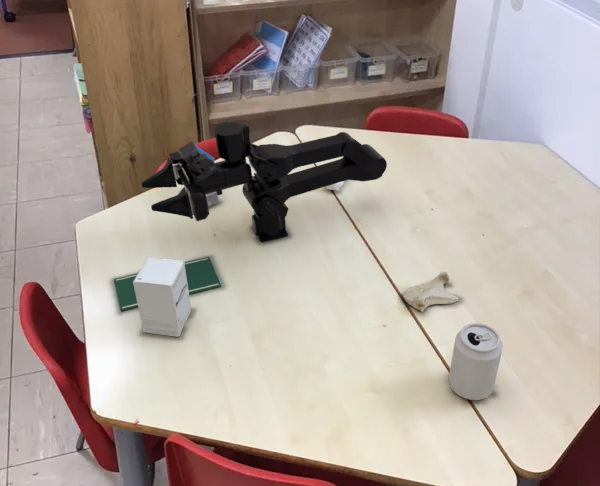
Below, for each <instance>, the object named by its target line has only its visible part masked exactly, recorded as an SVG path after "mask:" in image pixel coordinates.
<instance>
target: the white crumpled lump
mask: <svg viewBox="0 0 600 486" xmlns="http://www.w3.org/2000/svg"><path fill="white" fill-rule="evenodd" d="M345 182H346V181H342V182H339V183H336V184H332V185H329V186H326V187H324V188H326V189H327V190H331V191H334V192H340V189H341V187H342V186H343V185H344V183H345Z"/></svg>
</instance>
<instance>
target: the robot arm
mask: <svg viewBox="0 0 600 486" xmlns="http://www.w3.org/2000/svg"><path fill="white" fill-rule="evenodd" d="M213 131H214V137H215V143H216V149H217V155H218V157H219V158H220V159H222V160H220V161H216V162H215V163H214V162H213V161H212V160H211V159H208V157H207V155H206V154H200V152H199V151H198V149H197V148H196V146H197V145H196V144H195V143H194V142H193V140H190V141H189V142H188V143H186V144H184V145H182V146H181V147H180V148H178V151H174V152H171V153H169V155H168V156H169V157H167V159H166V163H165V165H164V166H163V167H162V168H161V169H160V170H158V171H156V172H155V173H154V174H152V175H151V176H150V177H148V178H146V179H145V180H143V181H142V182H141V183H140V184H141V187H142V188H143V189H155V188H157V189H158V188H161V189H162V188H177V187H178V186H179V185H180V186H183V187H182V189H181V190H180V191H179V193H178V194H176V195H174V196H171V197H168V198H166V199H163V200H160V201H157V202H155V203H153V204H151V205H150V208H151V211H152V212H158V213H163V214H164V213H165V214H171V215H176V216H181V217H185V218H189V219H190V220H193V219H195V221H196V222H200V221H201V222H202V221H203V220H207V218H208V217H209V216H210V209H209V208H208V203H207V198H206V194H210V193H214V192H216V193H217V195H218V196H222V195H223V191H224V190H227V189H231V188H234V187H235V188H236V187H239V186H242V185H243V186H242V195H243V196H244V198H245V199H246V201H247V203H248V205H250V207H251V208H252V210H253V214H252V215H251V225H252V231H253V233H254V235H255V236H256V237H257V238H258V240H259V242H260V243H266V242H271V241H276V240H279V239H284V238H287V237H289V232H288V231H287V229H286V228H287V227H286V217H287V214H288V212H289V206H287V205H286V202H287V201H288V200H289V199H290V198H293V197H296V196H299V195H302V194H303V195H304V194H306V193H310V192H313V191H316V190H320V189H323V188H325V187H326V186H329V185H332V184H336V183H339V182H342V181H345V182H346V181H354V182H355V181H356V182H371V181H377V180H378V179H380V178H382V177H383V175H384V173H385V172H386V170H387V166H388V163H387V160H386V159H385V158H384V157H383V155H381V154H380V153H379V152H378V151H377V150H376V149H375V148H374V147H373V146H371V145H370V144H368V143H363V144H361V142H359V141H358V140H357V139H355V138H354V137H352V136H351V135H350V134H349V133H348V132H346V131H340V132H339V133H336V134H334V135H329V136H326V137H320V138H316V139H313V140H308V141H304V142H299V143H295V144H291V145H290V144H289V145H284V144H278V143H267V144H259V145H257V144H255V143H252V142H251V139H250V132H251V131H250V126H249V125H248V124H247V123H246V122H242V123H239V122H235V121H224V122H220V123H219V124H217V125H215V127H214V130H213ZM195 145H196V146H195ZM338 158H339V159H338ZM247 159H248V162H247ZM334 159H336V160H334ZM329 160H330V161H329ZM331 160H333V161H331ZM326 161H329V162H326ZM323 162H326V163H323ZM317 163H322V164H319V165H315V166H312V167H309V168H305V169H302V170H298V171H295V172H292V171H293V170H295V169H297V168H301V167H306V166H309V165H314V164H317ZM252 169H253V171H254V173H253V171H252ZM186 190H187V191H186ZM187 192H188V193H187Z"/></svg>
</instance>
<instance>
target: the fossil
mask: <svg viewBox="0 0 600 486" xmlns="http://www.w3.org/2000/svg"><path fill="white" fill-rule="evenodd" d="M450 279H451V278H450V275H449V273H448V272H447V271H442V272H440V273H439V274H438V275H436V277H435V278H433V279H431V280H429V281H426V282H423V283H421V284H417V285H414V286H411V287H409V288H407V289H406V290H405V291H404V292H403V294H402V297H403V299H404V301H405V302H406V303H407V305H410V306H412V308H414V309H416V310H417V311H420V312H424V310H425V309H426V308H428V307H429V306H432V305H449V304H450V305H451V304H454V303H457V302H459V301H460V300H459V297H458V296H456V295H455V294H452V293H451V292H449V291H447V290H446V289H445V286H444V285H447V284H448V283H449V282H450Z"/></svg>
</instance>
